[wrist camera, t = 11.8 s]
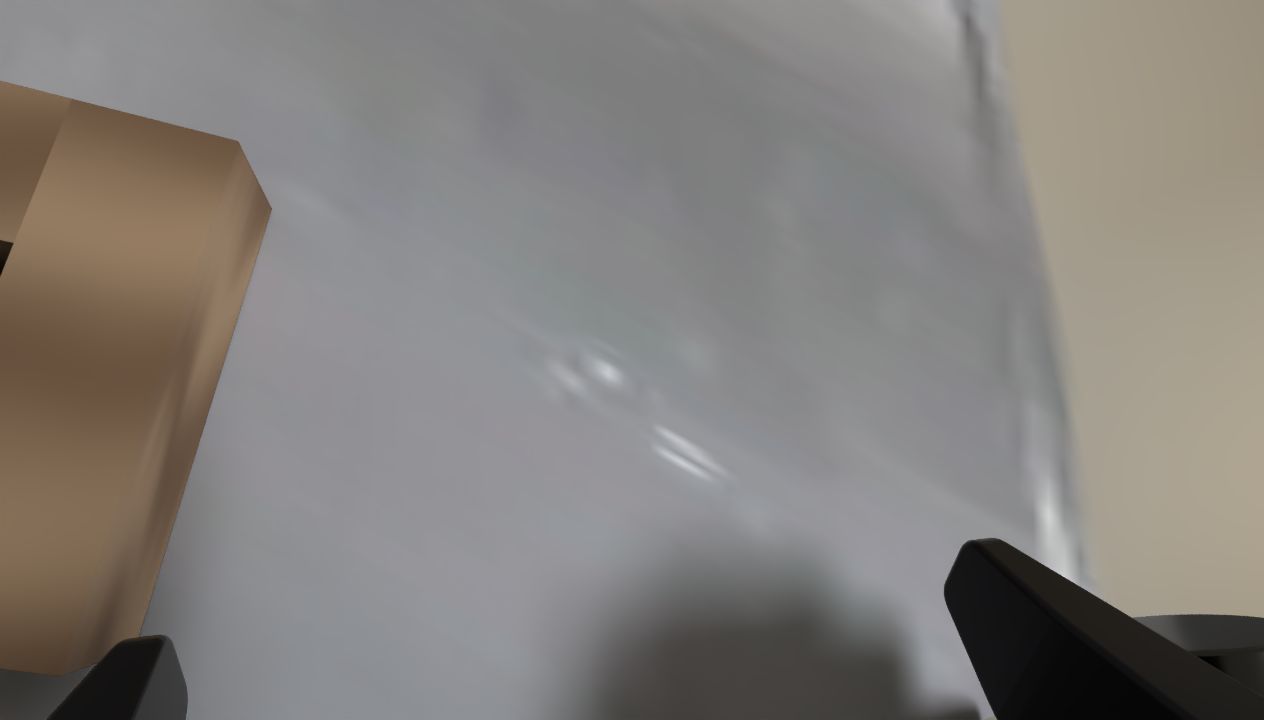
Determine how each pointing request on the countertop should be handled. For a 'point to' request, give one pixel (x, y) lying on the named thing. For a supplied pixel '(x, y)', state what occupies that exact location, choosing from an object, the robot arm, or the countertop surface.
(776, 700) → the countertop surface
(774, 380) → the countertop surface
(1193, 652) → the pneumatic valve
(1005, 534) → the countertop surface
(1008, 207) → the countertop surface
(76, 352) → the socket block
